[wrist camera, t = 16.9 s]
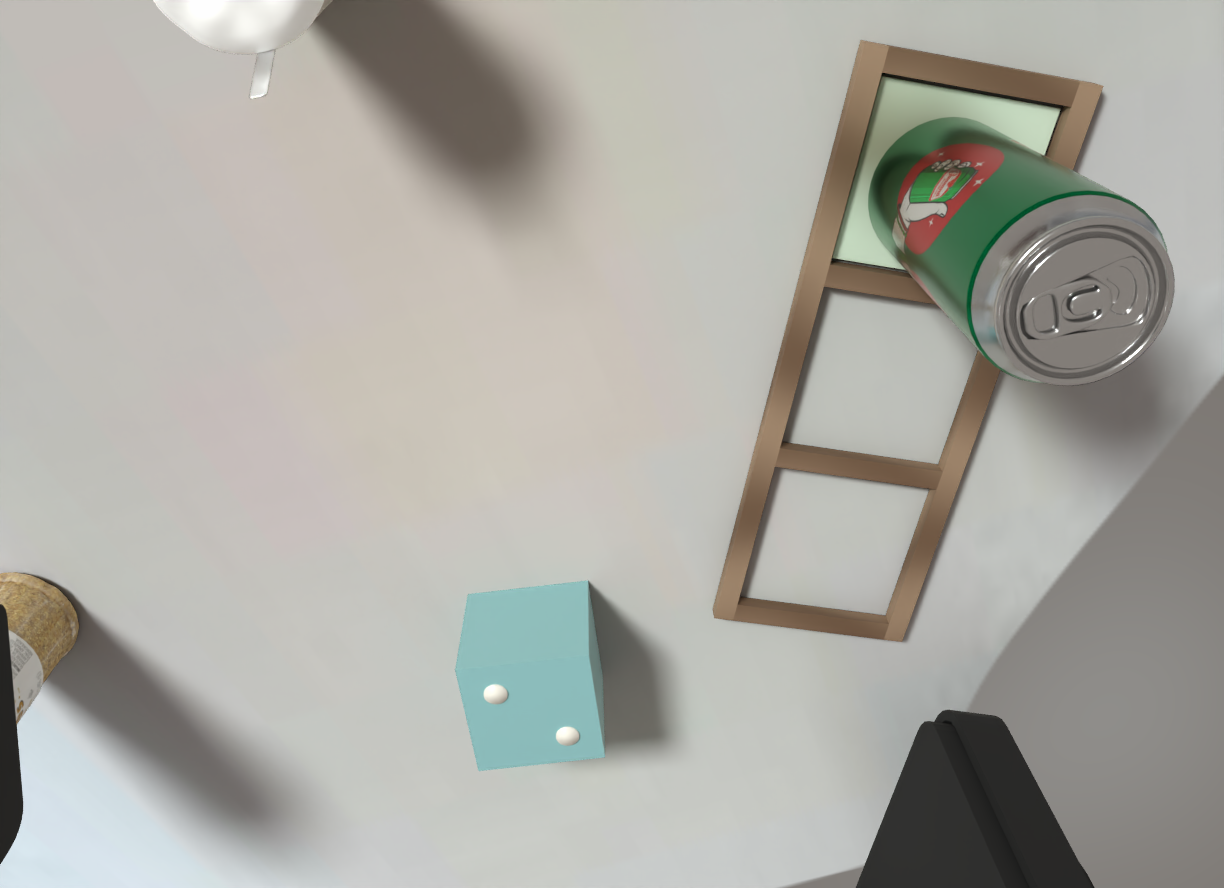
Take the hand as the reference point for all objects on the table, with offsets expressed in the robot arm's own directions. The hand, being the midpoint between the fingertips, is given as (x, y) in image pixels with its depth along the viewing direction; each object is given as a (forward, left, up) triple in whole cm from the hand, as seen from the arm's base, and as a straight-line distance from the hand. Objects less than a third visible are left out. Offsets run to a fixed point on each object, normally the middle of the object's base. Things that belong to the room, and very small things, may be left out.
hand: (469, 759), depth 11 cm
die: (-19, +3, -28) cm, 34 cm away
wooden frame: (-9, -12, -28) cm, 32 cm away
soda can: (-2, -13, -28) cm, 31 cm away
